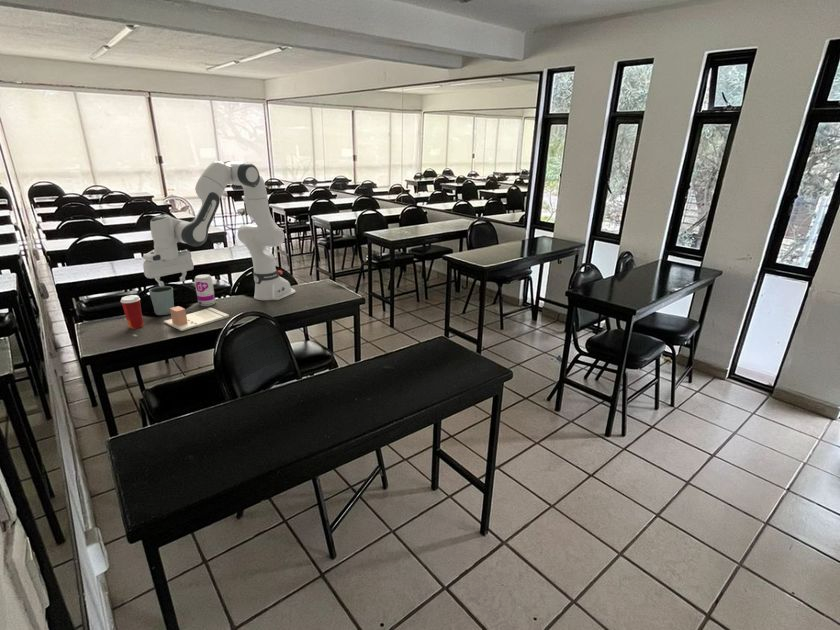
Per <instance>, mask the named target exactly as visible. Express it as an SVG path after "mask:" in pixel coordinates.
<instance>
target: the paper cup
mask: <svg viewBox="0 0 840 630" xmlns="http://www.w3.org/2000/svg"><path fill="white" fill-rule="evenodd" d="M119 302H120V303H121V305H122V309H123V311H124V315H125V318H126V322H127V324H128V328H129V329H132V330H133V329H134V330H135V329H136V330H137V329H140V328H142V327H144V318H143V313H142V307H141V305H142V304H141V298H140V296H139V295H137V294H130V295H126V296H122V297H121V299H120V301H119Z"/></svg>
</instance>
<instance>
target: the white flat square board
mask: <svg viewBox="0 0 840 630" xmlns="http://www.w3.org/2000/svg"><path fill="white" fill-rule="evenodd" d="M186 317H187V321H189V322H192V323H194V324H196V325H197V327H201V326H206V325H208V324H211V323H214V322H217V321H221V320H224V319H227V318H229V317H230V315H229V314H228V313H225V312H223V311H221V310H218V309H216V308H213V307H208V308H204V309H201V310H198V311H194V312H192V313H186Z"/></svg>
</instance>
